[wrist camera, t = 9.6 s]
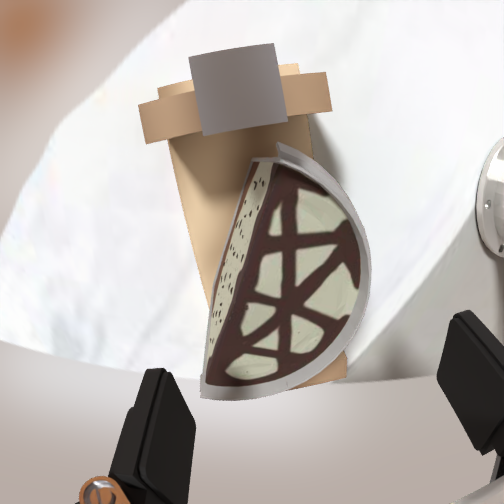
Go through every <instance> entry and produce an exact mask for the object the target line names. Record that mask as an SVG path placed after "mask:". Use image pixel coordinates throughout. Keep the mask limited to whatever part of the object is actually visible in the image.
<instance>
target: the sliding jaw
mask: <svg viewBox="0 0 504 504" xmlns="http://www.w3.org/2000/svg"><path fill="white" fill-rule="evenodd" d="M189 63H190V68H191V74H192V79H193V85H194V91H190V92H186V93H181V94H177V95H173V96H169V97H165V98H161V99H158V100H154V101H150V102H147V103H143V104H140V105H138V107H139V112H140V118H141V123H142V128H143V133H144V137H145V142H146V144H149V143H153V142H158V141H162V140H166V139H170V138H175V137H179V136H183V135H187V134H192V133H196V132H201V131H202V132H203V136H207V135H212V134H217V133H222V132H227V131H233V130H238V129H244V128H250V127H256V126H262V125H269V124H275V123H282V122H288V118H287V117H289V116H297V115H305V114H313V113H321V112H330V111H332V106H331V100H330V94H329V88H328V82H327V76H326V72H321V73H307V74H296V75H286V76H280V73H279V67H278V62H277V57H276V52H275V47H274V43H271V44H262V45H254V46H247V47H240V48H233V49H227V50H222V51H216V52H211V53H206V54H201V55H196V56H192V57H189Z"/></svg>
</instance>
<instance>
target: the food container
mask: <svg viewBox="0 0 504 504" xmlns="http://www.w3.org/2000/svg"><path fill="white" fill-rule="evenodd" d="M276 147H277V150H278V157H252V159H251V162H250V165H249V169H248V172H247V175H246V178H245V181H244V184H243V187H242V190H241V193H240V197H239V200H238V203H237V206H236V209H235V212H234V216H233V219H232V222H231V225H230V229H229V232H228V235H227V238H226V242H225V245H224V248H223V251H222V255H221V258H220V261H219V265H218V268H217V271H216V275H215V278H214V281H213V286H212V294H211V302H210V310H209V319H208V327H207V336H206V345H205V354H204V364H203V373H202V374H201V376H200V392H201V395H200V397H201V398H205V399H212V400H226V401H227V400H228V401H237V400H249V399H256V398H261V397H266V396H270V395H274V394H277V393H280V392H283V391H286V390H289V389H291V388H293V387H295V386H297V385H299V384H301V383H303V382H305V381H307V380H309V379H310V378H312V377H313V376H315V375H316V374H318V373H319V372H321V371H322V370H323V369H324V368H326V367H327V366H328V365H329V364H330V363H331V362H333V361H334V360H335V359H336V358H337V357H338V355H339V354H340V353H341V352H342V351H343V350H344V349H345V348H346V346H347V345H348V343H349V342H350V340H351V339H352V337H353V336H354V334H355V333H356V331H357V329H358V327H359V325H360V323H361V321H362V318H363V316H364V314H365V310H366V307H367V303H368V299H369V295H370V285H371V270H372V269H371V256H370V248H369V244H368V240H367V236H366V233H365V229H364V227H363V225H362V223H361V221H360V219H359V216H358V214H357V212H356V210H355V208H354V206H353V205H352V203H351V201H350V199H349V197H348V196H347V194H346V193H345V192H344V190H343V189H342V188H341V186H340V185H339V184H338V182H337V181H336V180H335V178H333V177H332V176H331V175H330V174H329V173H328V172H327V171H326V170H325V169H324V168H323V167H322V166H321V165H320V164H318V163H317V162H316V161H314V160H312V159H311V158H309V157H308V156H306V155H305V154H303V153H302V152H300V151H299V150H297V149H294V148H292V147H290V146H287V145H285V144H283V143H280V142H278V141H277V143H276Z"/></svg>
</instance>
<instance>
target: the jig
mask: <svg viewBox="0 0 504 504" xmlns="http://www.w3.org/2000/svg"><path fill="white" fill-rule="evenodd" d="M278 67H279V73H280V76H286V75H296V74H300V71H299V66H298V63H295V64H285V65H278ZM157 89H158V94H159V99H161V98H165V97H169V96H173V95H177V94H181V93H186V92H190V91H194V85H193V79H192V80H188V81H184V82H179V83H175V84H171V85H167V86H164V87H160V88H157ZM287 118H288V122H282V123H275V124H269V125H262V126H256V127H250V128H244V129H238V130H233V131H227V132H222V133H217V134H212V135H207V136H203V132H202V131H201V132H196V133H192V134H187V135H183V136H179V137H175V138H170V139H167V140H168V145H169V150H170V154H171V159H172V164H173V168H174V173H175V177H176V182H177V186H178V190H179V195H180V199H181V203H182V207H183V211H184V216H185V220H186V224H187V228H188V232H189V236H190V240H191V244H192V247H193V251H194V255H195V259H196V263H197V267H198V270H199V274H200V278H201V281H202V285H203V289H204V292H205V296H206V299H207V303H208V306H209V310H210V302H211V294H212V286H213V281H214V278H215V275H216V271H217V268H218V265H219V261H220V258H221V255H222V251H223V248H224V245H225V242H226V238H227V235H228V232H229V229H230V225H231V222H232V219H233V216H234V212H235V209H236V206H237V203H238V200H239V197H240V193H241V190H242V187H243V184H244V181H245V178H246V175H247V172H248V169H249V165H250V162H251V159H252V157H278V150H277V147H276V143H277V141H278V142H280V143H283V144H285V145H287V146H290V147H292V148H294V149H297V150H299V151H300V152H302V153H303V154H305V155H306V156H308V157H309V158H311V159H312V160H314V158H313V151H312V144H311V137H310V130H309V124H308V117H307V114H305V115H297V116H289V117H287ZM346 372H347V357H346V355H345V353H344V351H342V352H341V353H340V354H339V355H338V357H337V358H336V359H335V360H334V361H333V362H331V363H330V364H329V365H328V366H327V367H326V368H324V369H323V370H322V371H321V372H319V373H318V374H316V375H315V376H313V377H312V378H310V379H309V380H307V381H305V382H303V383H301V384H299V385H297V386H295V387H293V388H291V389H289V390H293V389H298V388H302V387H307V386H312V385H316V384H321V383H325V382H329V381H334V380H338V379H342V378H346ZM286 391H287V390H286ZM223 401H224V400H223Z"/></svg>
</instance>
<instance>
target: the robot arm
mask: <svg viewBox="0 0 504 504" xmlns="http://www.w3.org/2000/svg"><path fill="white" fill-rule="evenodd" d="M476 208H477V222H478V228H479V232H480V235H481V238H482V240H483V242H484V243H485V245H486V247H487V248H488V249H489V250H490V251H491V252H493V253H494V254H496V255H498V256H500V257H503V258H504V137H503V138H502V139H500V140H499V141H498V143H497V144H496V145H495V146H494V147H493V149H492V150H491V152H490V154H489V155H488V157H487V160H486V162H485V164H484V167H483V170H482V173H481V177H480V181H479V186H478V192H477V205H476ZM437 381H438V384H439V385H440V387H441V389H442V390H443V392H444V394H445V395H446V397H447V399H448V401H449V402H450V404H451V406H452V408H453V409H454V411H455V413H456V415H457V416H458V418H459V420H460V422H461V424H462V425H463V427H464V429H465V431H466V433H467V435H468V437H469V439H470V440H471V442H472V444H473V446H474V448H475V449H476V450H479V451H480V452H481V454H482V456H483V455H485V454H487V453H488V452H490V451H492V450H494V449H495V451H496V453H497V457H496V461H495V465H494V469H493V473H492V476H491V480H490V483H489V484H488V485H486V486H484V487H482V488H481V489H479V490H477V491H475V492H473V493H471V494H469V495H467V496H465V497H463V498H461V499H459V500H457V501H455V502H453V503H451V504H504V346H503V345H502V344H501V343H500V342H499V340H498V339H497V338H496V337H495V336H494V335H493V334H492V333H491V332H490V330H489V329H488V328H487V327H486V326H485V325H484V324H483V323H482V322H481V321H480V320H479V319H478V317H477V316H476V315H475V314H474V313H473V312H472V311H470V310H466V311H463V312H460V313H457V314H455V315H454V316H453V319H452V320H451V321H450V323H449V327H448V332H447V336H446V341H445V345H444V349H443V353H442V357H441V361H440V364H439V368H438V371H437ZM195 433H196V424H195V420H194V418H193V416H192V414H191V412H190V410H189V408H188V406H187V404H186V402H185V400H184V398H183V396H182V394H181V392H180V390H179V388H178V386H177V384H176V381H175V379H174V377H173V375H172V373H171V372H167V371H166V369H164V368H155V369H147V370H146V371H145V374H144V377H143V380H142V383H141V386H140V389H139V392H138V395H137V398H136V401H135V404H134V407H131V408H130V409H129V411H128V413H127V416H126V419H125V422H124V425H123V428H122V431H121V435H120V438H119V441H118V444H117V448H116V451H115V454H114V458H113V461H112V464H111V468H110V471H109V475H108V477H106V476H97V477H94V478H91V479H89V480H88V481H86V482H85V483H84V485H83V486H82V487H81V490H80V492H79V502H77V503H75V504H187V503H188V493H189V484H190V476H191V467H192V457H193V450H194V441H195Z"/></svg>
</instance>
